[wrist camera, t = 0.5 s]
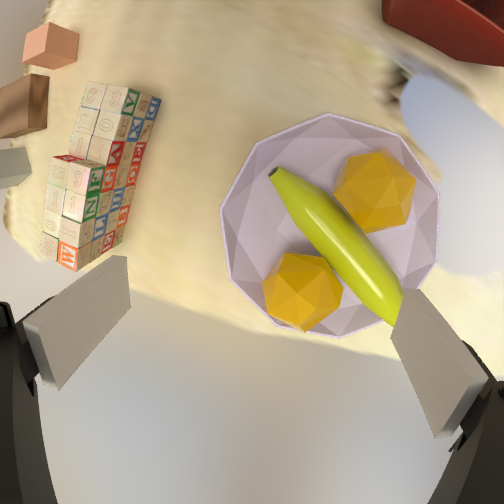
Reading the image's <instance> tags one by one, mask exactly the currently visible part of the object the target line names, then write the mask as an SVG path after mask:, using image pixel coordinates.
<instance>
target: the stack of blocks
mask: <svg viewBox="0 0 504 504" xmlns="http://www.w3.org/2000/svg"><path fill="white" fill-rule="evenodd" d="M160 102H161V100H160V99H158V98H155V97H153V96H151V95H148V94H146V93H143V92H139V91H136V90H133V89H130V88H126V87H120V86H115V85H109V84H108V85H107V84H101V83H95V82H88V83H87V86H86V90H85V93H84V96H83V99H82V103H81V106H80V108H79V112H78V115H77V119H76V122H75V126H74V131H73V133H72V138H71V142H70V147H69V155H63V156H54V157H52V160H51V165H50V171H49V177H48V186H47V192H46V200H45V208H44V216H43V226H42V230H43V231H42V234H41V247H40V253H41V254H42V255H44V256H46V257H48V258H50V259H52V260H53V261H55V262H57V261H58V263H59V264H61V265H63V266H65V267H67V268H69V269H71V270H73V271H76V272H77V271H78V270H80V269H81V268H83V267H84V266H85V265H87V264H88V263H91V262H92V261H94V260H95V259H96V258H98V257H100V256H101V255H102V254H103V253H105V252H106V251H108V250H109V249H111V248H113V247H115V246H116V245H118V244H119V243H121V242H122V237H123V232H124V228H125V224H126V221H127V217H128V213H129V208H130V204H131V200H132V197H133V193H134V189H135V182H136V178H137V174H138V171H139V167H140V162H141V159H142V156H143V152H144V149H145V146H146V142H147V141H148V138H149V135H150V132H151V129H152V126H153V122H154V119H155V116H156V114H157V110H158V108H159V105H160Z"/></svg>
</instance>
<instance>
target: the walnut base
mask: <svg viewBox="0 0 504 504" xmlns="http://www.w3.org/2000/svg"><path fill="white" fill-rule="evenodd" d="M49 78H50V77H47V76H42V75H37V74H32V73H31V74H29V75H26V76H24V77H22V78H20V79H18V80H16V81H14V82H12V83H10V84H8V85H6V86H4V87H2V88H0V139H3V138H15V137H19V136H22V135H25V134H28V133H31V132H35V131H38V130H42V129H45V128H47V107H48V90H49Z"/></svg>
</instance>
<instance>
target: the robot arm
mask: <svg viewBox="0 0 504 504" xmlns="http://www.w3.org/2000/svg"><path fill="white" fill-rule="evenodd" d="M130 308H131V305H130V295H129V284H128V271H127V257H124V256H117V255H112V256H111V257H109V258H108V259H106V260H105V261H104V262H102V263H101V264H99V265H98V266H96V267H95V268H93V269H92V270H91V271H89V272H88V273H86V274H85V275H84V276H82V277H81V278H80V279H78V280H77V281H75V282H74V283H72V284H71V285H70V286H68V287H67V288H66V289H64V290H63V291H62V292H60V293H59V294H58V295H56V296H53V297H51V298H48V299H47V300H46V301H44V302H43V303H41V304H40V306H38V307H36V308H35V309H34V310H32V311H31V312H30V313H28V314H27V315H26V316H25V317H23V318H22V319H21V320H19V321H18V322H17V323H16V324H15V322H14V318H13V314H12V311H11V307H10V305H9V304H8V303H6V302H0V504H58V503H57V499H56V496H55V492H54V489H53V485H52V481H51V477H50V472H49V468H48V463H47V458H46V453H45V447H44V442H43V436H42V429H41V421H40V413H39V404H38V393H37V384H36V381H35V379H34V377H35V376H36V375H37V374H38V373H40V375H41V378H42V380H43V383H44V385H47V386H49V387H51V388H53V389H56V390H58V391H59V390H60V389H61V388H62V387H63V385H64V384H65V383H66V382H67V381H68V379H69V378H70V377H71V376H72V374H73V373H74V372H75V371H76V370H77V369H78V367H79V366H80V365H81V364H82V363H83V362H84V360H85V359H86V358H87V357H88V356H89V354H90V353H91V352H92V351H93V350H94V349H95V347H96V346H97V345H98V344H99V343H100V342H101V341H102V339H103V338H104V337H105V336H106V335H107V334H108V333H109V331H110V330H111V329H112V328H113V327H114V326H115V325H116V324H117V322H118V321H119V320H120V319H121V318H122V317H123V316H124V314H125V313H126V312H127V311H128V310H129V309H130ZM391 340H392V342H393V344H394V346H395V348H396V350H397V352H398V354H399V357H400V359H401V361H402V363H403V365H404V367H405V369H406V372H407V374H408V376H409V378H410V380H411V383H412V385H413V387H414V389H415V392H416V394H417V396H418V399H419V401H420V403H421V406H422V408H423V410H424V413H425V415H426V417H427V420H428V423H429V425H430V427H431V430H432V433H433V435H434V438H435V439H436V438H443V437H448V436H452V435H453V433H454V432H455V430H456V429H457V428H458V426H459V425H460V426H461V428H462V430H463V433H462V434H461V435H460V437H459V438H458V439H457V441H456V442H455V443H454V444H453V446H452V447H451V448H450V450H449V452H451V451H452V450H453V449H454V450H453V453H452V455H451V457H450V460H449V462H448V464H447V466H446V469H445V471H444V473H443V475H442V477H441V479H440V481H439V483H438V485H437V487H436V489H435V491H434V493H433V495H432V497H431V499H430V500H429V502H428V504H504V381H498V382H497V380H496V379H495V378H494V376H493V375H492V373H491V372H490V371H489V369H488V368H487V367H486V365H485V364H484V363H482V360H481V358H480V357H479V356H478V354H477V353H476V352H475V351H474V349H473V348H472V347H471V346H470V345H468V344H467V343H466V342H465V341H463V340H461V339H460V338H459V337H458V335H457V334H456V333H455V331H454V330H453V329H452V328H451V326H450V325H449V324H448V323H447V321H446V320H445V319H444V318H443V316H442V315H441V314H440V313H439V312H438V310H437V309H436V308H435V307H434V305H433V304H432V303H431V302H430V301H429V300H428V298H427V297H426V296H425V295H424V294H423V292H422V291H421V290H420V289H414V288H406V289H405V293H404V296H403V300H402V303H401V306H400V310H399V313H398V316H397V319H396V322H395V326H394V329H393V332H392V335H391Z"/></svg>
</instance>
